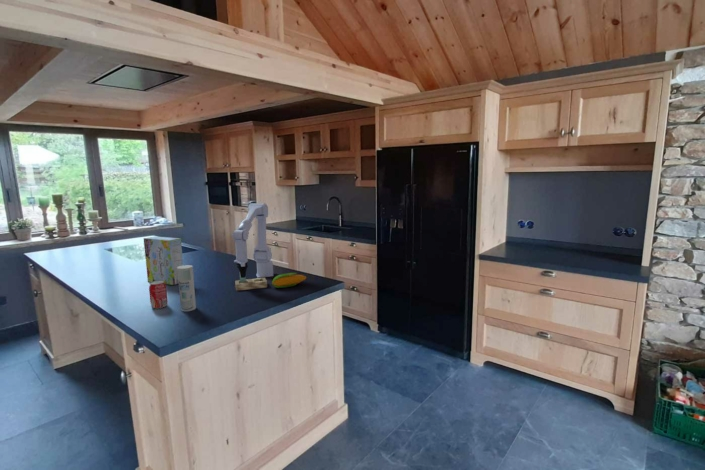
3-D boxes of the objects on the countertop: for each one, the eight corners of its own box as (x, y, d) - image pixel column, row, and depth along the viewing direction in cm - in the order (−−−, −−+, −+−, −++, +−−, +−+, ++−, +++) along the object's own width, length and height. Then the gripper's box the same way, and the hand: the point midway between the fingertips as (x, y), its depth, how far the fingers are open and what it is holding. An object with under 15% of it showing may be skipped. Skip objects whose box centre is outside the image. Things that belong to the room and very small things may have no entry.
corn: (269, 273, 201) (302, 268, 212) (269, 287, 203) (302, 281, 213) (274, 278, 195) (308, 272, 206) (274, 291, 197) (308, 285, 207)
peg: (241, 280, 202) (240, 264, 201) (246, 280, 202) (245, 264, 201) (239, 282, 200) (238, 266, 198) (244, 282, 199) (243, 266, 198)
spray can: (198, 306, 175) (194, 264, 171) (193, 311, 168) (189, 268, 165) (184, 306, 175) (180, 265, 171) (178, 311, 168) (174, 268, 165)
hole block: (265, 283, 209) (265, 277, 209) (267, 287, 202) (266, 281, 201) (235, 286, 204) (235, 280, 203) (236, 291, 196) (235, 284, 196)
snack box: (186, 282, 214) (182, 237, 210) (173, 286, 206) (168, 240, 202) (159, 277, 223) (155, 235, 219) (146, 281, 215) (141, 237, 211)
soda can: (155, 304, 178) (152, 280, 176) (170, 303, 178) (168, 279, 176) (148, 309, 171) (145, 284, 169) (164, 309, 171) (161, 284, 169)
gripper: (232, 249, 204) (234, 273, 206) (234, 255, 190) (235, 281, 192) (246, 248, 206) (247, 272, 208) (248, 254, 192) (249, 279, 195)
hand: (242, 276), depth 200 cm, fingers closed on peg, 3 cm apart
